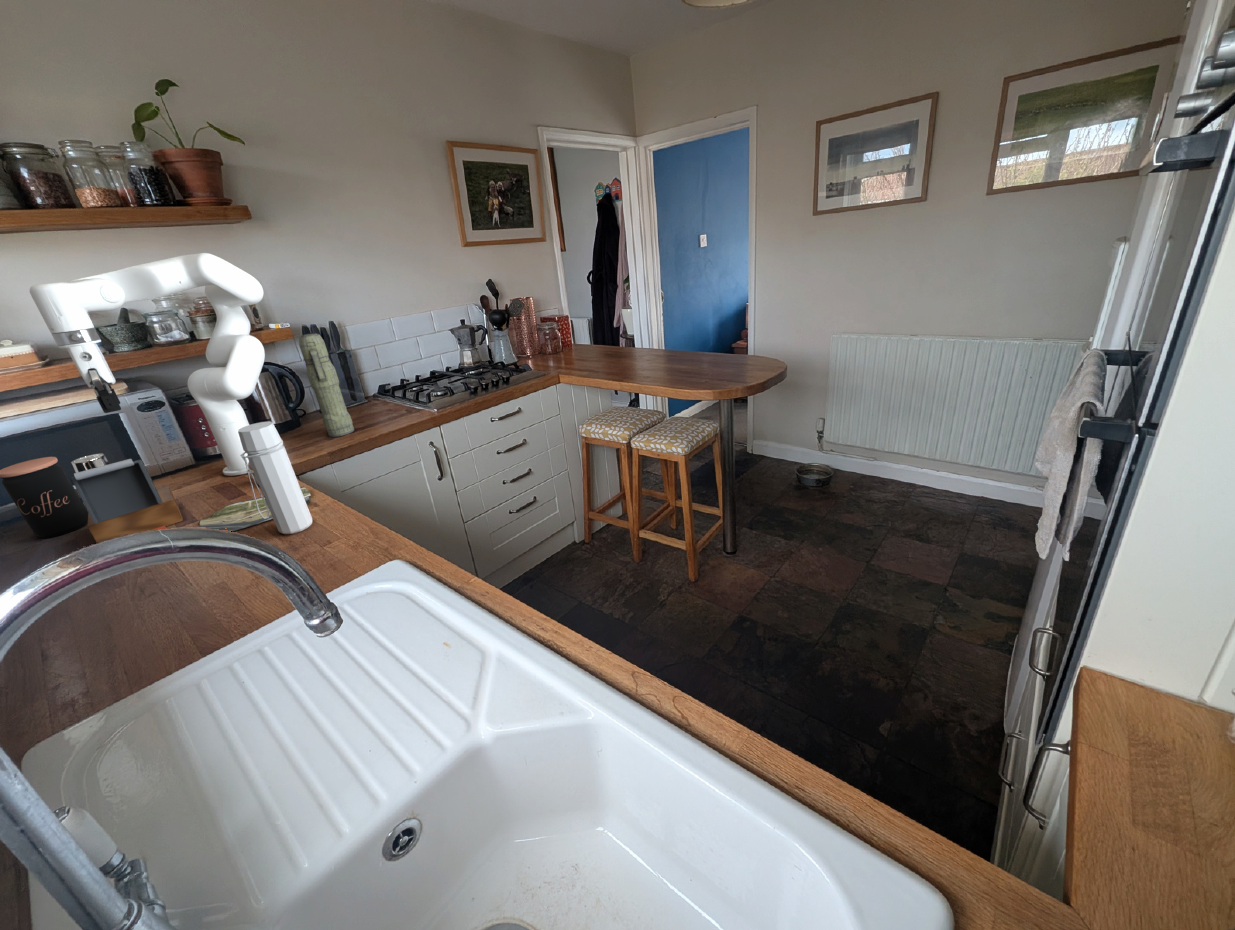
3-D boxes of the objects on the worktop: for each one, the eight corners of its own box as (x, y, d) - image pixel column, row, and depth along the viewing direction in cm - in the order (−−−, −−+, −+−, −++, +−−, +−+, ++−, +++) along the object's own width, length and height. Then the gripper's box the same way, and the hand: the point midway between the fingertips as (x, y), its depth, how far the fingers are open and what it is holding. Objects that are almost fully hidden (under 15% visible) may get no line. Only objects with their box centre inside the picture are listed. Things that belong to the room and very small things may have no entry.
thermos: (330, 439, 182) (295, 338, 168) (326, 432, 191) (292, 335, 177) (357, 432, 186) (325, 333, 173) (351, 425, 196) (321, 330, 182)
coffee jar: (28, 544, 129) (-15, 478, 122) (47, 526, 138) (8, 464, 131) (83, 530, 133) (45, 465, 126) (98, 514, 142) (64, 453, 135)
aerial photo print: (203, 547, 118) (200, 540, 117) (193, 522, 131) (190, 516, 130) (321, 503, 133) (319, 498, 132) (302, 485, 146) (300, 480, 145)
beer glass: (111, 514, 141) (83, 463, 135) (92, 514, 143) (63, 463, 137) (137, 501, 147) (111, 452, 141) (118, 502, 149) (92, 453, 143)
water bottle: (308, 516, 126) (270, 418, 116) (318, 526, 121) (279, 424, 111) (266, 533, 121) (222, 431, 111) (274, 543, 115) (229, 438, 105)
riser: (178, 505, 142) (168, 485, 139) (183, 520, 132) (172, 499, 130) (100, 529, 132) (88, 509, 130) (100, 548, 123) (87, 526, 120)
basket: (141, 458, 126) (137, 456, 118) (162, 502, 129) (160, 503, 120) (74, 476, 119) (65, 475, 111) (98, 522, 121) (91, 525, 113)
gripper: (98, 337, 119) (133, 409, 125) (98, 333, 131) (131, 399, 137) (52, 344, 114) (92, 418, 121) (57, 339, 126) (93, 407, 133)
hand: (112, 408), depth 129 cm, fingers open, 9 cm apart
